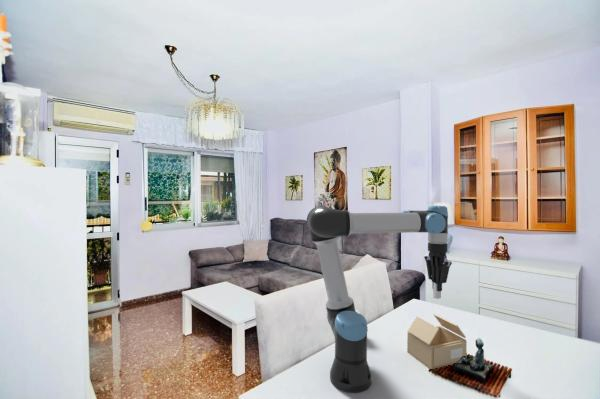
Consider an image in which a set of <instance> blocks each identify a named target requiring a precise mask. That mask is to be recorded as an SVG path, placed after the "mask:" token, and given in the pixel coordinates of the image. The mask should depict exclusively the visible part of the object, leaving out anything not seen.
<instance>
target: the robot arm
mask: <svg viewBox="0 0 600 399" xmlns="http://www.w3.org/2000/svg"><path fill="white" fill-rule="evenodd" d="M448 222H449V211H448V207H447V206H445V205H429V206H428V208H427V209H426V210H402V211H401V212H350V210H345V209H344V210H343V209H334V208H331V207H327V206H325V205H319V206H315V207H313V208H312V209H311V210H309V212H308V213H307V217H306V224H307V227H308V230H309V234H310V235H309V236H310V240H311V242H312V244H313V243H314V244H315V245H316V249H317V254H318V258H319V264H320V267H321V272H322V278H323V282H324V286H325V291H326V295H327V301H326V303H325V309H326V315H327V316H326V318H327V322H328V324H329V326H330V329H331V331H332V333H333V336H334V345H335V346H334V358H333V360H332V361H333V362H332V364H331V365H332V366H331V368H330V370H329V380H330V382H331V384H332V385H333V386H334V387H336V388H337V389H339V390H341V391H343V392H347V393H361V392H364V391H366V390H368V389H369V388H370V387H371V386H372V373H371V370H370V366H369V363H368V321H367V319H366V317H365V316H364V315H362V314H361V313H360V314H358V313H357V312H356V311H355V308H356V307H355V303H354V302H355V301H354V299H353V298H352V297H351V296H350V295H349V292H348V287H347V282H346V278H345V277H346V276H345V273H344V268H343V263H342V259H341V253H340V250H339V246H338V239H339V238H340V237H349V236H351V235H352V234H389V233H390V234H391V233H392V234H393V233H394V234H395V233H396V234H397V233H399V234H400V233H427V241H428V242H427V251H428V255H426V256H424V257H423V258H424V260H425V263H426V272H427V276H428V280H430V281H431V283H432V292H433V294H432V295H433V297H432V298H433V299H435V300H438V299H442V291H443V284H446V283H447V282H448V277H449V271H450V268H451V266H452V264H453V263H452V261H449V260H448V259H447V257H448V256H447V253H448V228H449V227H448V224H449V223H448Z"/></svg>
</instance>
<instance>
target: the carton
mask: <svg viewBox="0 0 600 399" xmlns="http://www.w3.org/2000/svg"><path fill="white" fill-rule="evenodd" d="M435 327H437V328H439V331H438V333H437V334H436V336H435V338H434V339H433V341H432V343H431V344H430V345H428V344H427V343H425V342H424V341H422V340H421V339H419V338H417V337H416V336H414V335H413V334H411V333H410V332H408V331H407V341H406V343H407V348H406V350H407V352H406V353H408V354H409V355H410V356H412V357H413V358H414V359H415V360H417V361H418V362H420V363H421V364H422V365H423V366H425V367H426V368H428V369H429V370H430V369H434V370H436V369H435V368H438V369H440V368H439V367H442V368H444V367H443V366H447V367H449V366H448V365H451V366H454V365H453V364H454V363H456V362H457V361H458V360H459V359H460V358H461V357H462V356H466V357H467V345H468V344H467V339H466V338H464V337H462V336H460V335H458V334H456V333H454V332H452V331H451V330H449V329H447V328H445V327H443V326H441V325H439V326H437V325H436V326H435Z"/></svg>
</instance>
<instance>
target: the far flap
mask: <svg viewBox="0 0 600 399" xmlns="http://www.w3.org/2000/svg"><path fill="white" fill-rule="evenodd" d="M433 316H434V318H435V319H436V320H437V321H438V323H439V324H440V326H441V327H443V328H445V329H446V330H448V331H450V332H452V333H454V334H456V335H458V336H459V337H461V338H463V339H466V338H467V336H466V335H465V333H464V332H463V331H462V329H461V328H460V327H459V326H458V324H456V323H455V322H452V321H450V320H448V319H447V318H444V317H442V316H440V315H438V314H436V313H433Z"/></svg>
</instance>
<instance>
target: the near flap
mask: <svg viewBox="0 0 600 399" xmlns="http://www.w3.org/2000/svg"><path fill="white" fill-rule="evenodd" d="M438 331H439V328H437V327H436V326H435V325H434V324H431V323H430V322H428V321H426V320H424V319H423V318H420V317H419V316H415V319H414V320H413V321H412V323H411V325H410V326H409V328H408V330H407V333H408V332H410V333H411V334H413V335H414V336H416V337H417V338H419V339H421V340H422V341H424V342H425V343H427V344H428V345H430V344H431V343H432V341H433V339H434V338H435V336H436V334H437V333H438Z"/></svg>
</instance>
